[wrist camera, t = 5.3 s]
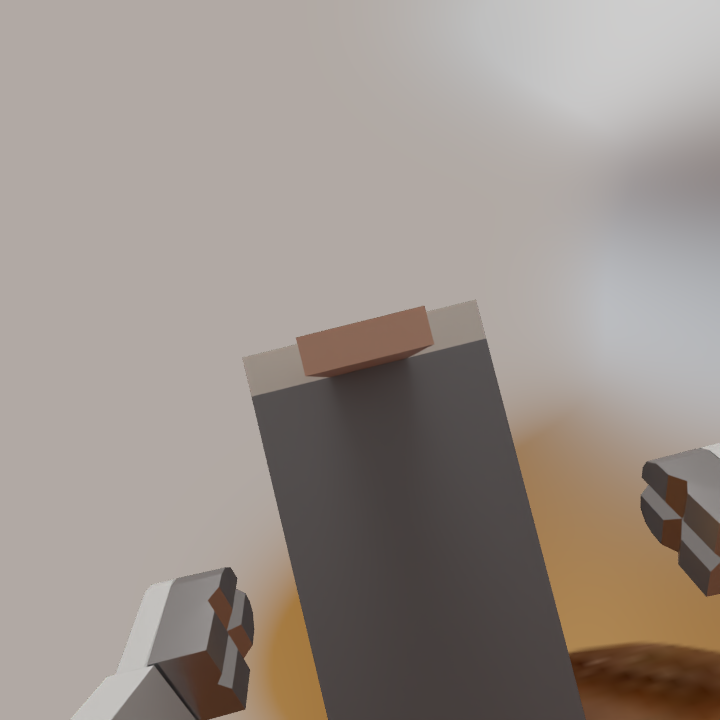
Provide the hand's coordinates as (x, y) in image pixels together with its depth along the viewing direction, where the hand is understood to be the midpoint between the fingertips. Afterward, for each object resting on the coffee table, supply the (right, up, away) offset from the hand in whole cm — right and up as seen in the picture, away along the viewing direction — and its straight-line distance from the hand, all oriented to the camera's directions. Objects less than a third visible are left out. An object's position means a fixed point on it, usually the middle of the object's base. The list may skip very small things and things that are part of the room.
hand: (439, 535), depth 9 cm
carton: (+5, -22, +17) cm, 28 cm away
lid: (-1, +3, +13) cm, 14 cm away
